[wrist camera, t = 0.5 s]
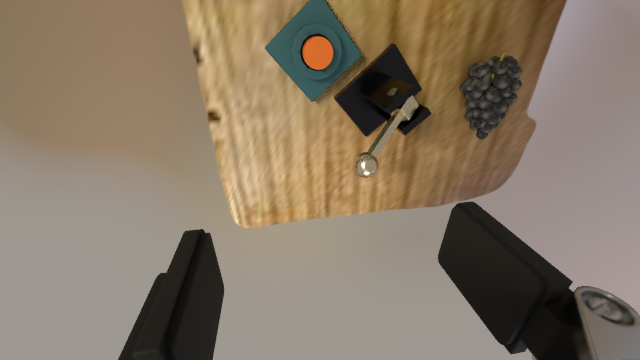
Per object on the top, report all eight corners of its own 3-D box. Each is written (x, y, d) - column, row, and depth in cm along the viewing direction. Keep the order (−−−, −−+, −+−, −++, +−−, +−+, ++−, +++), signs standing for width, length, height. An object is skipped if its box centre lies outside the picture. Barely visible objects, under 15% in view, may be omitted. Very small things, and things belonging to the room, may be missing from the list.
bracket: (364, 134, 47) (390, 162, 37) (333, 97, 43) (353, 118, 33) (418, 88, 45) (462, 105, 35) (391, 43, 41) (432, 48, 31)
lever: (357, 181, 35) (374, 184, 32) (343, 166, 33) (359, 168, 31) (404, 110, 38) (423, 107, 35) (393, 93, 36) (412, 89, 34)
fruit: (520, 149, 44) (539, 53, 36) (466, 156, 46) (472, 67, 38) (499, 127, 51) (510, 43, 42) (452, 134, 53) (455, 55, 45)
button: (296, 51, 36) (297, 52, 34) (318, 29, 35) (320, 29, 33) (315, 74, 37) (317, 76, 36) (336, 54, 37) (339, 55, 35)
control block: (264, 47, 38) (264, 49, 34) (315, -7, 36) (321, -11, 32) (310, 98, 43) (313, 104, 39) (357, 54, 40) (365, 56, 37)
